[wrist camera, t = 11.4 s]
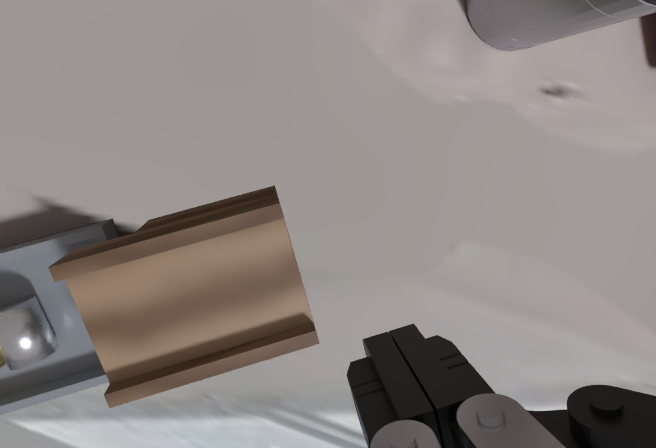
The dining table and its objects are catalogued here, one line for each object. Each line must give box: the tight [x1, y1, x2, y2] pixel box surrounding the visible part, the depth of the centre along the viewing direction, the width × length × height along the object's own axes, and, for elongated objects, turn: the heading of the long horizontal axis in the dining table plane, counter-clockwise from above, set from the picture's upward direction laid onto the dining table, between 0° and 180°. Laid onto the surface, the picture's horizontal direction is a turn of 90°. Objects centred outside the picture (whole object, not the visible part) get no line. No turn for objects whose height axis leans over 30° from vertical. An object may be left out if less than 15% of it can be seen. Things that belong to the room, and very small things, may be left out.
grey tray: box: [0, 219, 119, 415], centre depth 41 cm, size 14×18×3 cm
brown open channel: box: [48, 186, 319, 408], centre depth 39 cm, size 12×17×10 cm
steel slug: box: [0, 296, 59, 370], centre depth 39 cm, size 5×4×4 cm
